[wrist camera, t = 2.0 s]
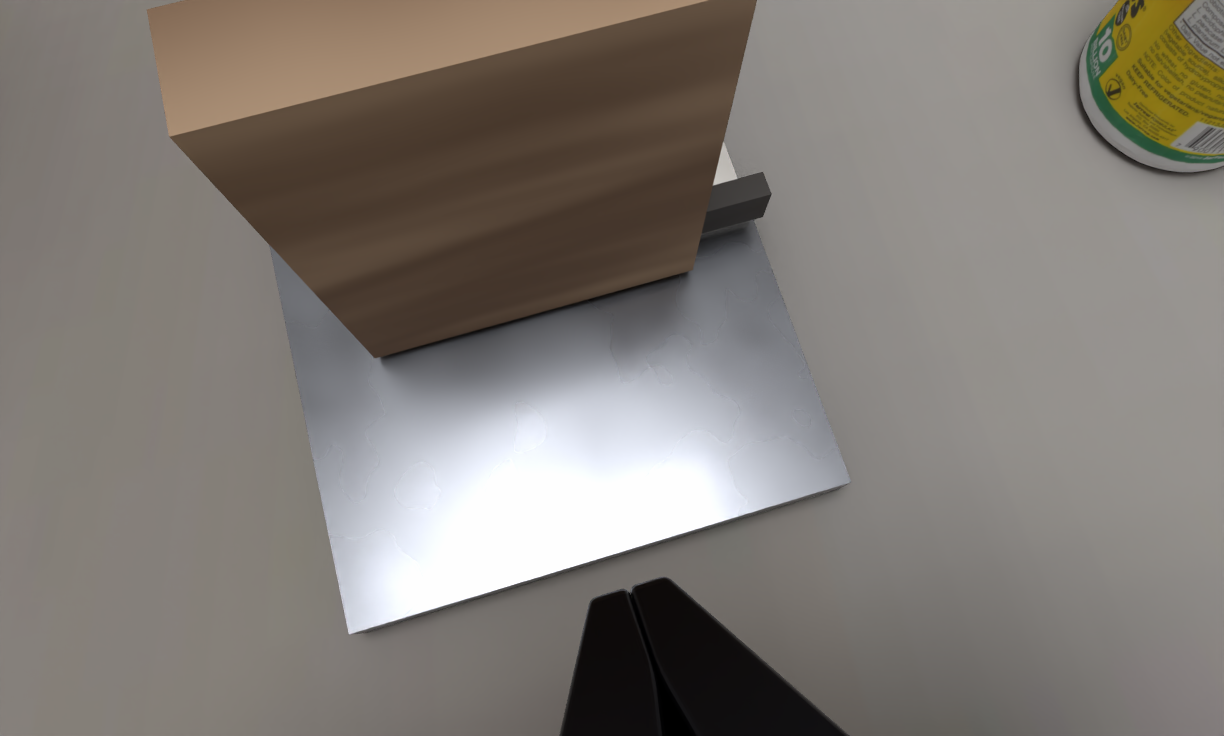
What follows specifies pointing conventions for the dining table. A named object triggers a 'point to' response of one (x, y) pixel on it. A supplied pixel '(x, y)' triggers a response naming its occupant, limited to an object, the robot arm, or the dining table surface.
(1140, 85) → the supplement bottle
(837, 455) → the grey piece
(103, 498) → the dining table surface
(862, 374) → the dining table surface
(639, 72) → the brown wooden flat block
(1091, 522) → the dining table surface
